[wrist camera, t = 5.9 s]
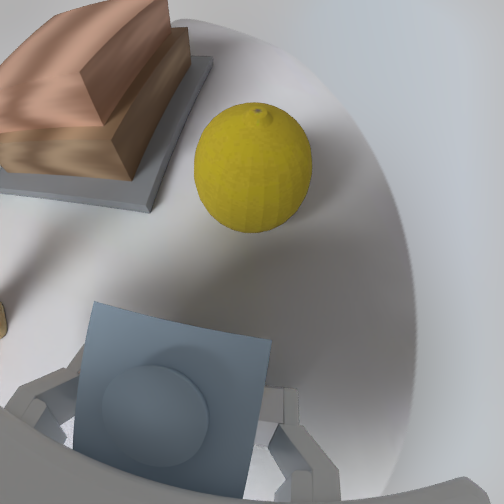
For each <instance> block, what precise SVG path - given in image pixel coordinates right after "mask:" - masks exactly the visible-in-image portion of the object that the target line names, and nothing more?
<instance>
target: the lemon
mask: <svg viewBox="0 0 504 504" xmlns="http://www.w3.org/2000/svg"><path fill="white" fill-rule="evenodd" d="M311 175H312V158H311V148H310V144H309V141H308V139H307V137H306V134H305V132H304V130H303V129H302V127H301V126H300V125H299V124H298V122H297V121H296V120H295V119H294V118H293V117H292V116H290V115H289V114H288V113H286V112H285V111H283V110H281V109H279V108H277V107H275V106H272V105H268V104H265V103H256V102H254V103H244V104H239V105H235V106H233V107H230V108H228V109H226V110H224V111H222V112H221V113H220V114H218V115H217V116H216V117H214V118H213V119H212V120H211V122H210V123H209V124H208V125H207V127H206V128H205V129H204V131H203V133H202V135H201V137H200V140H199V143H198V145H197V148H196V152H195V159H194V179H195V184H196V187H197V191H198V194H199V197H200V199H201V201H202V203H203V204H204V206H205V207H206V209H207V211H208V212H209V214H210V215H211V216H213V217H214V218H215V219H216V220H217V221H218V222H219V223H221V224H223V225H224V226H226V227H228V228H230V229H232V230H236V231H240V232H244V233H259V232H263V231H268V230H271V229H273V228H275V227H277V226H279V225H281V224H283V223H284V222H286V221H287V220H288V219H289V218H290V217H291V216H292V215H293V214H294V213H295V212H296V211H297V210H298V208H299V206H300V205H301V203H302V202H303V200H304V198H305V196H306V194H307V191H308V188H309V184H310V180H311Z"/></svg>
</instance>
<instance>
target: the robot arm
mask: <svg viewBox="0 0 504 504" xmlns="http://www.w3.org/2000/svg"><path fill="white" fill-rule="evenodd" d="M84 346H85V344H84V345H83V346H82V347H81V349H80V350H79V351H78V353H77V354H76V356H75V357H74V358H73V360H72V361H71V363H70V364H69V365H68V367H67V368H61V369H59V370H57V371H55V372H52V373H50V374H48V375H45V376H43V377H41V378H38V379H36V380H34V381H31V382H29V383H27V384H24V385H22V386H20V387H19V388H18V389H17V390H16V392H15V393H14V395H13V396H12V397H11V399H10V400H9V402H8V403H7V405H6V406H5V408H3V407H1V406H0V504H490V500H489V497H488V495H487V493H486V492H485V491H484V490H483V489H482V488H481V487H479V486H478V485H477V484H476V483H474V482H473V481H472V480H470V479H469V478H467V477H459V478H455V479H452V480H449V481H446V482H442V483H439V484H435V485H432V486H428V487H424V488H420V489H416V490H412V491H407V492H402V493H397V494H392V495H387V496H380V497H373V498H366V499H357V500H347V501H341V493H340V480H339V470H338V468H337V467H336V466H335V465H334V464H333V462H332V461H331V460H330V459H329V458H328V456H327V455H326V454H325V453H324V451H323V450H322V449H321V448H320V446H319V445H318V444H317V443H316V441H315V440H314V439H313V438H312V436H311V435H310V434H309V433H308V431H307V430H306V429H305V427H304V426H301V425H299V404H298V390H297V389H293V388H284V387H278V386H269V385H265V386H264V392H263V398H262V403H261V409H260V414H259V420H258V425H257V430H256V435H255V441H254V445H259V446H267V447H268V449H269V451H270V452H271V454H272V456H273V458H274V459H275V461H276V463H277V465H278V466H279V468H280V470H281V471H282V473H283V475H284V476H285V478H286V481H285V482H284V483H283V484H282V485H281V486H280V488H279V489H278V490H277V491H276V492H275V498H274V502H272V501H258V500H248V499H239V498H231V497H224V496H218V495H212V494H206V493H201V492H196V491H192V490H187V489H183V488H178V487H174V486H170V485H167V484H163V483H159V482H156V481H152V480H149V479H146V478H143V477H140V476H137V475H134V474H131V473H128V472H125V471H122V470H120V469H117V468H114V467H112V466H109V465H107V464H104V463H102V462H99V461H97V460H95V459H92V458H90V457H88V456H86V455H83V454H81V453H79V452H77V451H75V450H73V449H71V448H69V447H67V446H65V445H63V444H64V442H65V440H66V438H67V437H66V434H65V432H64V431H63V430H62V428H61V427H60V425H61V424H63V423H64V422H66V421H68V420H69V419H71V418H72V417H74V416H75V409H76V399H77V391H78V383H79V376H80V369H81V363H82V357H83V351H84Z"/></svg>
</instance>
